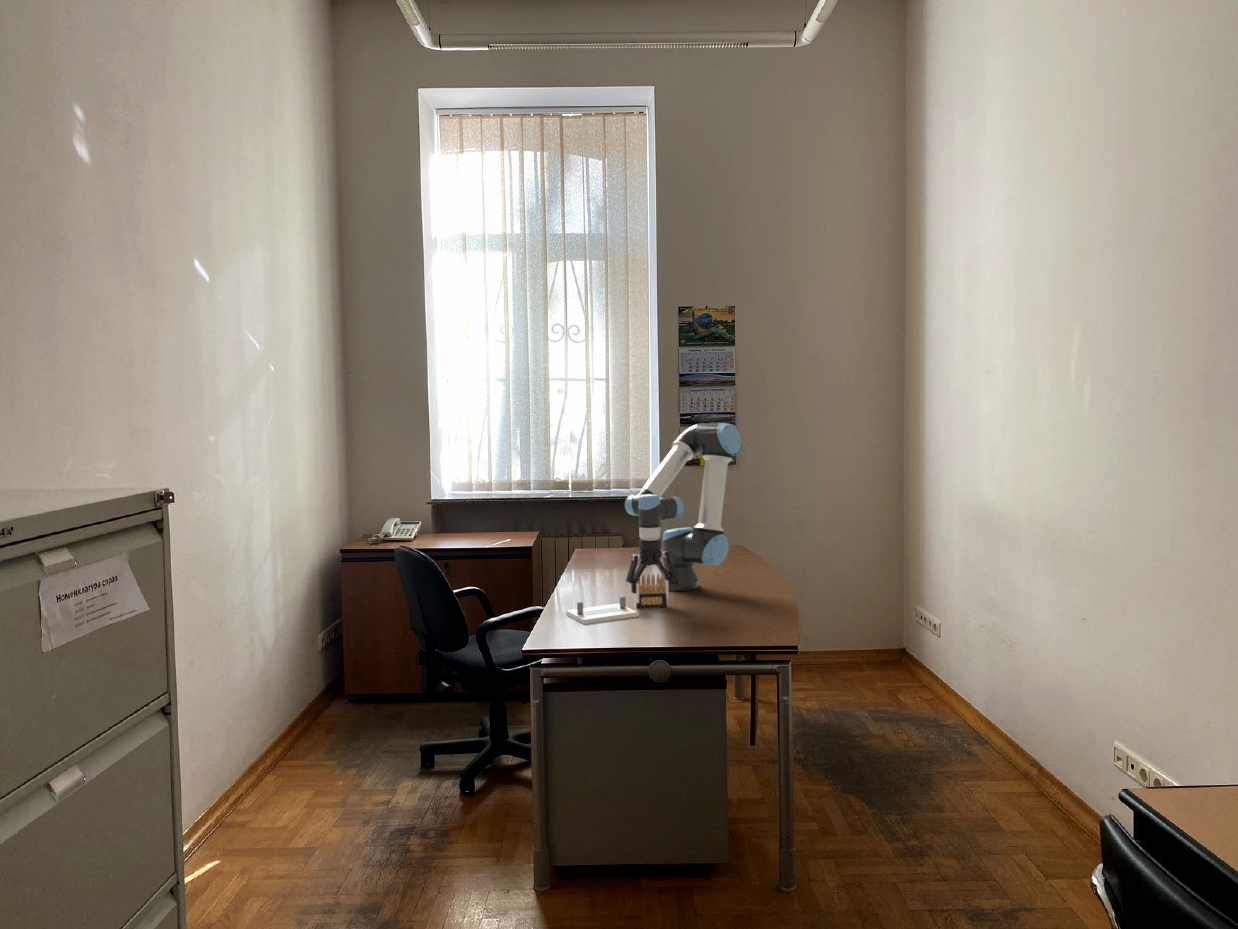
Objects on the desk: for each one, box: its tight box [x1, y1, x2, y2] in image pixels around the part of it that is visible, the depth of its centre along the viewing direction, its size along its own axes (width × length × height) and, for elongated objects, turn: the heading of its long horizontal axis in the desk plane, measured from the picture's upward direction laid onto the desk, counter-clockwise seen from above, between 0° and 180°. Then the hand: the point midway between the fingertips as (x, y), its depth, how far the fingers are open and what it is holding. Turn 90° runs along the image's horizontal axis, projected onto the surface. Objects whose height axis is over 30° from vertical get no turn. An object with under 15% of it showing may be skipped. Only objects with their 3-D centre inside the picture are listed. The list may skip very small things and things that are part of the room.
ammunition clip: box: [635, 573, 668, 610], centre depth 303 cm, size 11×2×12 cm, turn 94°
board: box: [565, 595, 639, 625], centre depth 293 cm, size 20×15×6 cm
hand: (651, 600), depth 303 cm, fingers open, 11 cm apart
